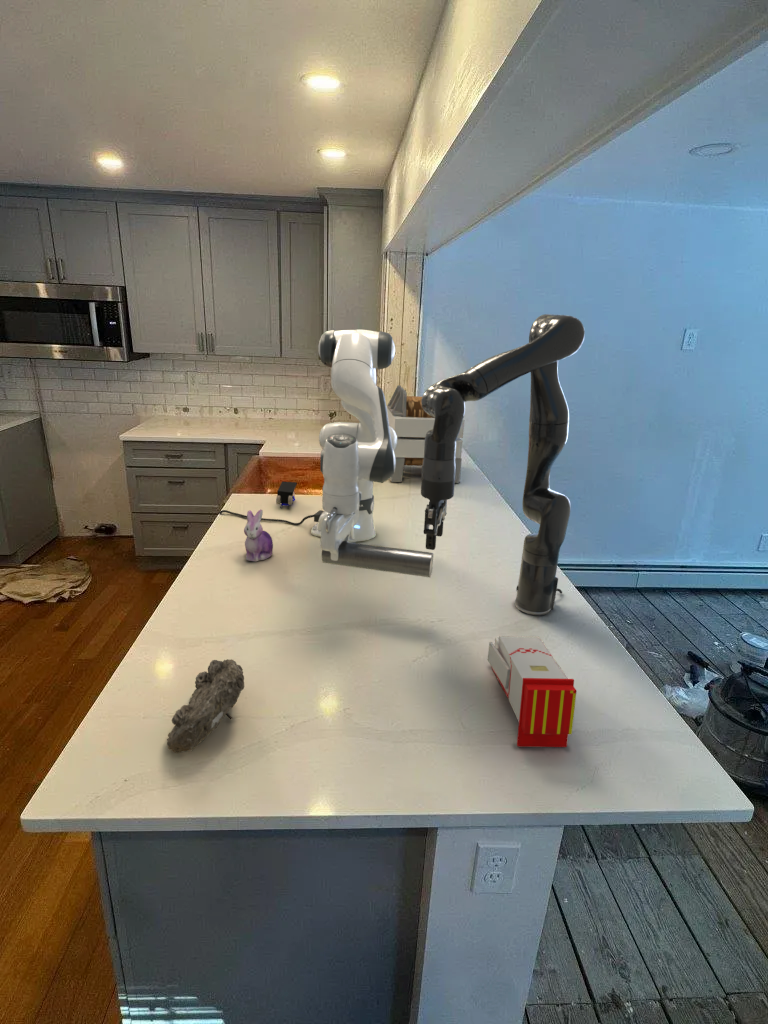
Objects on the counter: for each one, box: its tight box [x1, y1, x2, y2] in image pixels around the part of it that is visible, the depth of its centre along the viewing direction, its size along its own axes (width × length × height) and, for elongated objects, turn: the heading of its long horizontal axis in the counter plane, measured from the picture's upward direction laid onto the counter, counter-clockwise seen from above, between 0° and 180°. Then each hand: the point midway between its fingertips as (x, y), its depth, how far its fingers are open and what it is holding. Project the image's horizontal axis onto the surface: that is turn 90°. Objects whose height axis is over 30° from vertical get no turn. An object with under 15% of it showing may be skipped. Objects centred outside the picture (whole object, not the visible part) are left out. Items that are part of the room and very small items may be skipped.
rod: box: [321, 541, 434, 578], centre depth 141 cm, size 27×6×6 cm, turn 77°
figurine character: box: [275, 480, 298, 509], centre depth 223 cm, size 7×8×15 cm
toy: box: [486, 635, 577, 748], centre depth 115 cm, size 12×13×30 cm
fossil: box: [166, 658, 245, 754], centre depth 106 cm, size 22×10×15 cm
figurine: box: [243, 508, 274, 562], centre depth 175 cm, size 9×10×15 cm
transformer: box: [386, 384, 465, 484], centre depth 268 cm, size 34×33×41 cm
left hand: (339, 553), depth 143 cm, fingers closed on rod, 6 cm apart
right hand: (434, 542), depth 133 cm, fingers open, 8 cm apart
